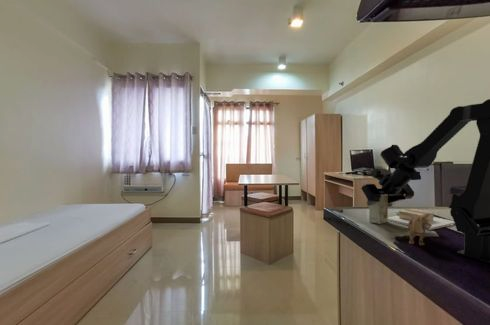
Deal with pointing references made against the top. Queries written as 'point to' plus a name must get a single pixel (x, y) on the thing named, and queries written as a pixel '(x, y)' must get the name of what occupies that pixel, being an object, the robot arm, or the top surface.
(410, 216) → the oak pedestal
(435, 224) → the build plate
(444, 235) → the top surface
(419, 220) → the lion figurine
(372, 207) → the skincare box
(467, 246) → the robot arm
